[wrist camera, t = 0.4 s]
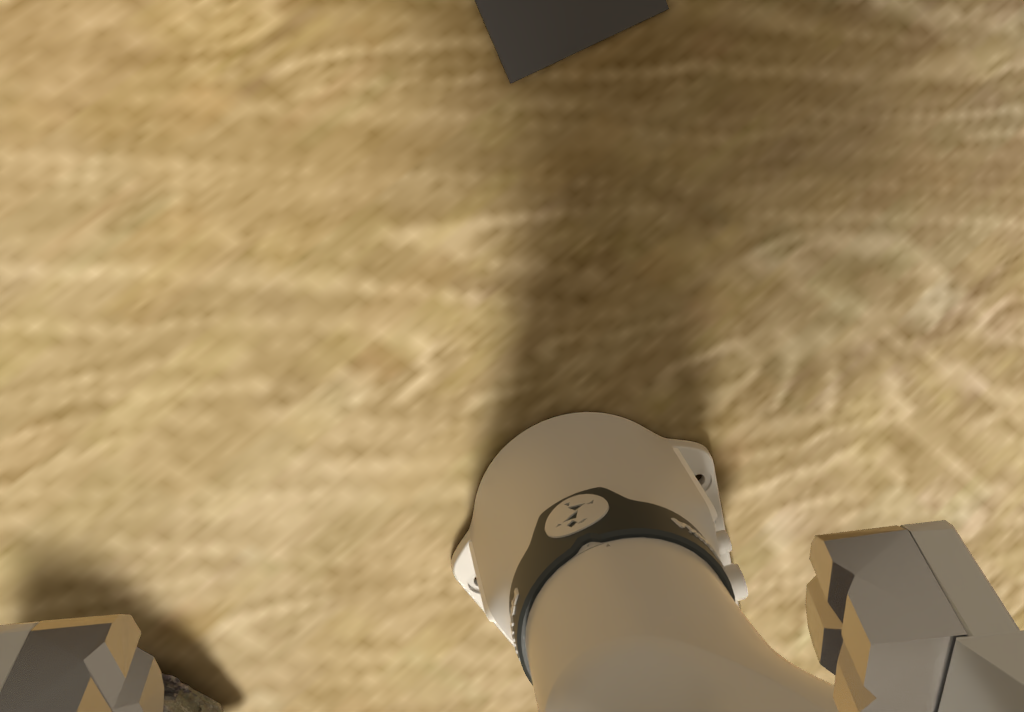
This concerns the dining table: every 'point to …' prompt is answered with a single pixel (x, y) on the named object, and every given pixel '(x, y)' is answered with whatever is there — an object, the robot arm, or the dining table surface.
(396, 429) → the dining table surface
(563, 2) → the pad
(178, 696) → the mineral rock
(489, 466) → the robot arm
